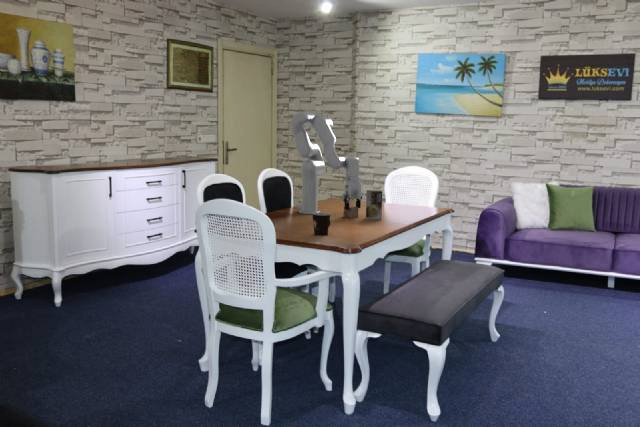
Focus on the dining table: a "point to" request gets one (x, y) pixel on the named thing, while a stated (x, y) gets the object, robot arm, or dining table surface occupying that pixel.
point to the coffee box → (374, 204)
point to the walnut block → (351, 212)
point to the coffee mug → (321, 223)
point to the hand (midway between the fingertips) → (352, 208)
